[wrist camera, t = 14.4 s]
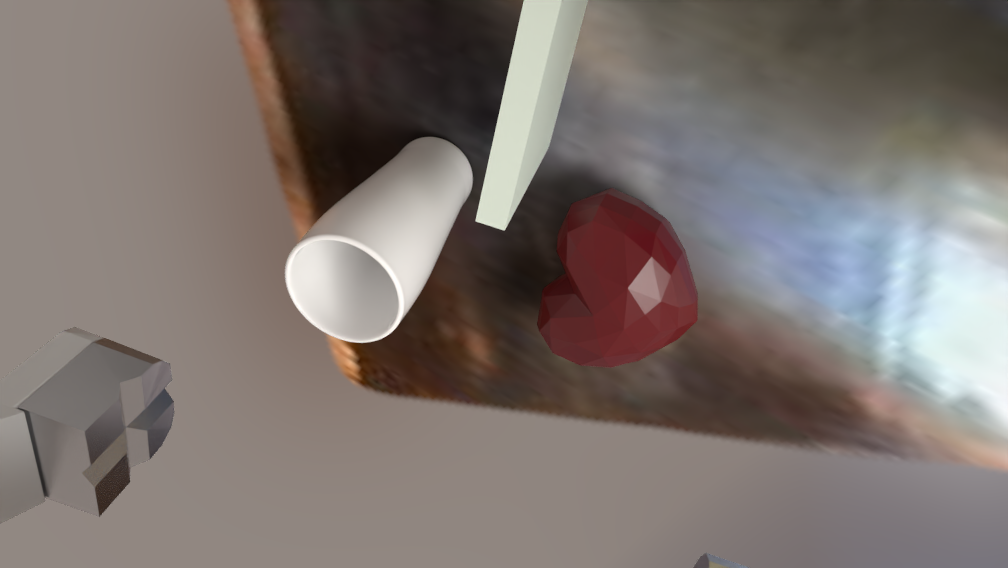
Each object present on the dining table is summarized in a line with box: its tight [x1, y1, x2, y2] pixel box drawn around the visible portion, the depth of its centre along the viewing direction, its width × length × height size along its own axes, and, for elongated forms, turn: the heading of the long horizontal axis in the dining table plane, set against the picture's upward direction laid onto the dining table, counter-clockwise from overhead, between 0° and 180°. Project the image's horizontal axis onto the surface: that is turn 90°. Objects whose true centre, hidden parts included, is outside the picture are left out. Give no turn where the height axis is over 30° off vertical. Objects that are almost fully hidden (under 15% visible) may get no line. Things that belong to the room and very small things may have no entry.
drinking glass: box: [285, 137, 473, 343], centre depth 45 cm, size 7×7×15 cm
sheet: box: [476, 0, 588, 231], centre depth 41 cm, size 12×2×11 cm, turn 168°
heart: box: [537, 188, 698, 368], centre depth 48 cm, size 12×8×10 cm
